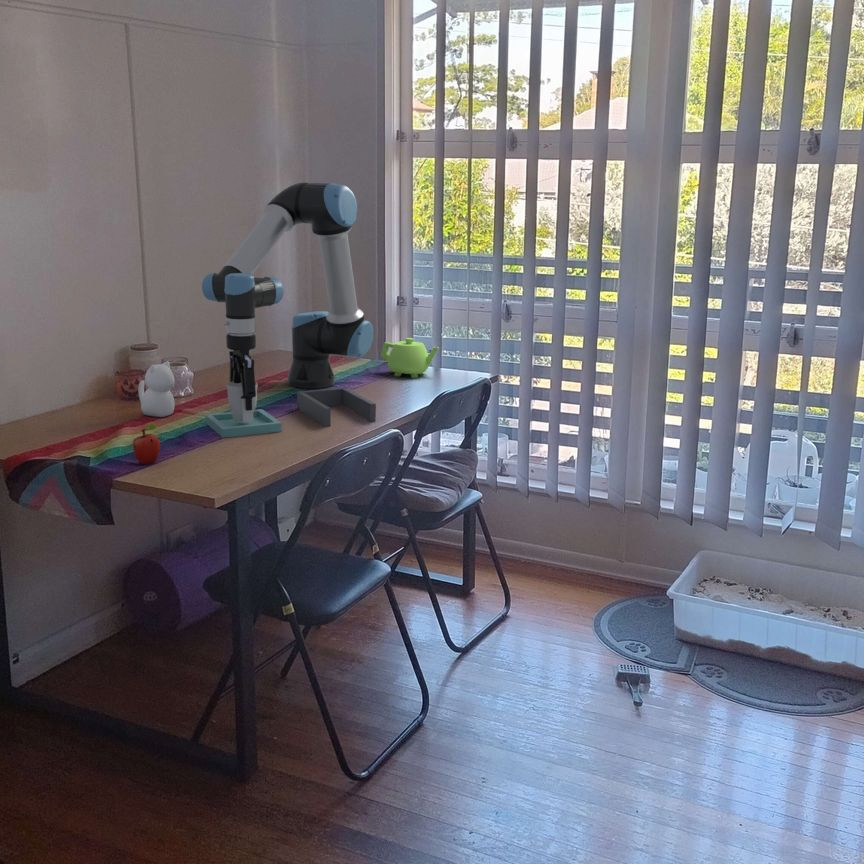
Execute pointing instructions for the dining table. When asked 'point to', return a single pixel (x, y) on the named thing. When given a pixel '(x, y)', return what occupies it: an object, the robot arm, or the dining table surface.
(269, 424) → the tray
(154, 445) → the apple
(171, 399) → the cat figurine
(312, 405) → the bay
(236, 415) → the cup
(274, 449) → the dining table surface
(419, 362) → the teapot
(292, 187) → the robot arm
